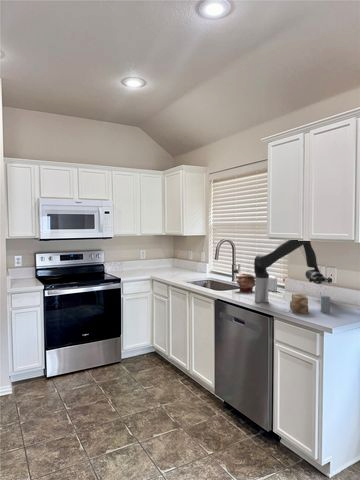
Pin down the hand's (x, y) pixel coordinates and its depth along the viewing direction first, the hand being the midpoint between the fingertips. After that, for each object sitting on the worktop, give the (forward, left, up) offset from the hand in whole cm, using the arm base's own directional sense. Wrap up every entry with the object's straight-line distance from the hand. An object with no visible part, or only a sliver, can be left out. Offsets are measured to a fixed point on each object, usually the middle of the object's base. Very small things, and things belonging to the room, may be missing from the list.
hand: (322, 281), depth 226 cm
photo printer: (-28, +56, -18) cm, 65 cm away
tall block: (0, -11, -18) cm, 21 cm away
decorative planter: (-48, +46, -18) cm, 69 cm away
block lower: (-16, -12, -18) cm, 27 cm away
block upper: (-16, -12, -13) cm, 24 cm away
